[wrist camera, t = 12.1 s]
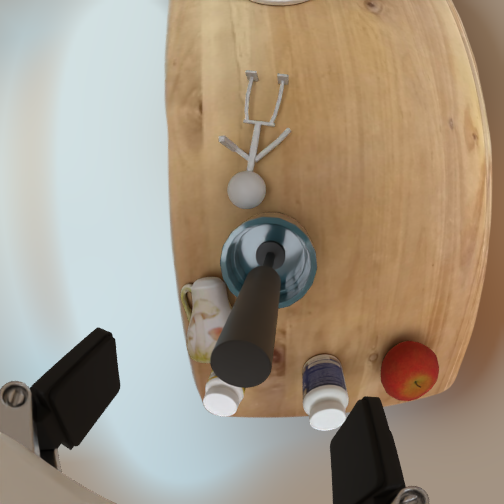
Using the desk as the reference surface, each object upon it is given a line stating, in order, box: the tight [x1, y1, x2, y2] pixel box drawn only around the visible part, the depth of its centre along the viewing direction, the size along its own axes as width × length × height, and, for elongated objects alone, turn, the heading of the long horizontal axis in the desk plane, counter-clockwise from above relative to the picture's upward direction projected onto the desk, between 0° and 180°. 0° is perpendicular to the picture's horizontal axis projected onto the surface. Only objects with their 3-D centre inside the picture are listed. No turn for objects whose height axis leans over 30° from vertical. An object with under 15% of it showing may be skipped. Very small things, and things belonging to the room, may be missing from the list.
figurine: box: [219, 70, 291, 209], centre depth 26 cm, size 6×6×15 cm
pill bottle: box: [302, 354, 349, 431], centre depth 29 cm, size 5×5×10 cm
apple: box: [381, 341, 439, 401], centre depth 28 cm, size 8×8×8 cm
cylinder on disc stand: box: [210, 241, 285, 388], centre depth 21 cm, size 3×3×20 cm
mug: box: [180, 277, 232, 363], centre depth 31 cm, size 8×10×10 cm
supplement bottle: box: [203, 370, 245, 416], centre depth 31 cm, size 5×5×8 cm
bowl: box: [220, 212, 317, 309], centre depth 29 cm, size 9×9×5 cm
